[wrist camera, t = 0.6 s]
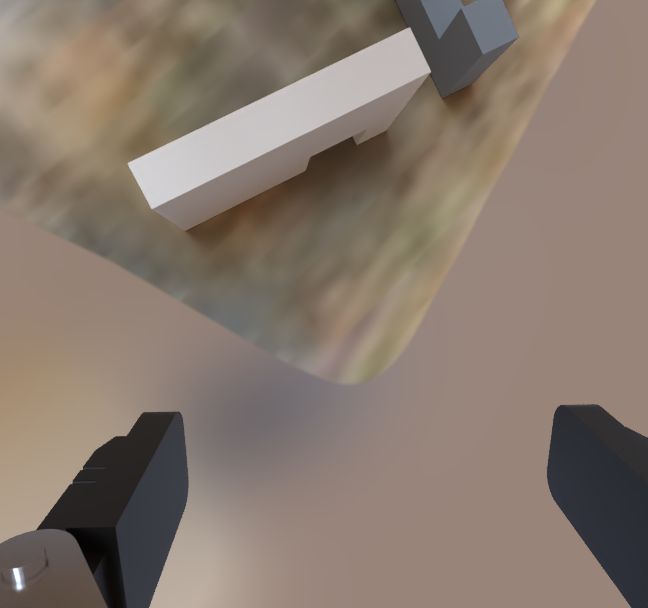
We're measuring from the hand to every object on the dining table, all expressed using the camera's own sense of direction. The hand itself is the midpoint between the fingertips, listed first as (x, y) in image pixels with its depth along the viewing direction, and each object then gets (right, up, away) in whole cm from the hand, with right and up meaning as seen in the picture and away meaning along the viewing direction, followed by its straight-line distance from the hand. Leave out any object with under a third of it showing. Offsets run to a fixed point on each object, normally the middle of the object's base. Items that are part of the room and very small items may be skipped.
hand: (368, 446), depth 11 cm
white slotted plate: (-4, +13, +25) cm, 28 cm away
